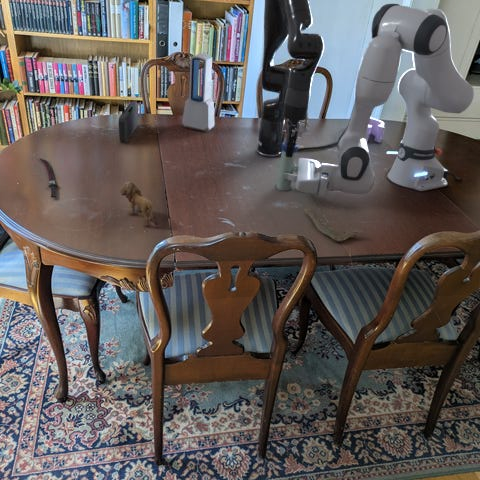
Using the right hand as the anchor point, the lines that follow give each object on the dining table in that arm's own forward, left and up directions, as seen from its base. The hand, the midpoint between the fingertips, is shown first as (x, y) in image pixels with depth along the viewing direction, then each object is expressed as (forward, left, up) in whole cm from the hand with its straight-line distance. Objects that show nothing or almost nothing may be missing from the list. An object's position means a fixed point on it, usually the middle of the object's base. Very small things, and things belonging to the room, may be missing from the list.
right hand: (283, 171), depth 158 cm
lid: (-1, 0, +9) cm, 9 cm away
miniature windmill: (-31, -58, -6) cm, 66 cm away
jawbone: (-6, +27, -6) cm, 28 cm away
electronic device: (+16, -59, -6) cm, 61 cm away
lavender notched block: (-60, -46, -6) cm, 76 cm away
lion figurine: (+50, +13, -6) cm, 52 cm away
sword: (+76, -16, -6) cm, 78 cm away
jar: (-1, 0, -6) cm, 6 cm away
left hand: (-1, 0, +7) cm, 7 cm away
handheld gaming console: (+46, -54, -6) cm, 71 cm away
